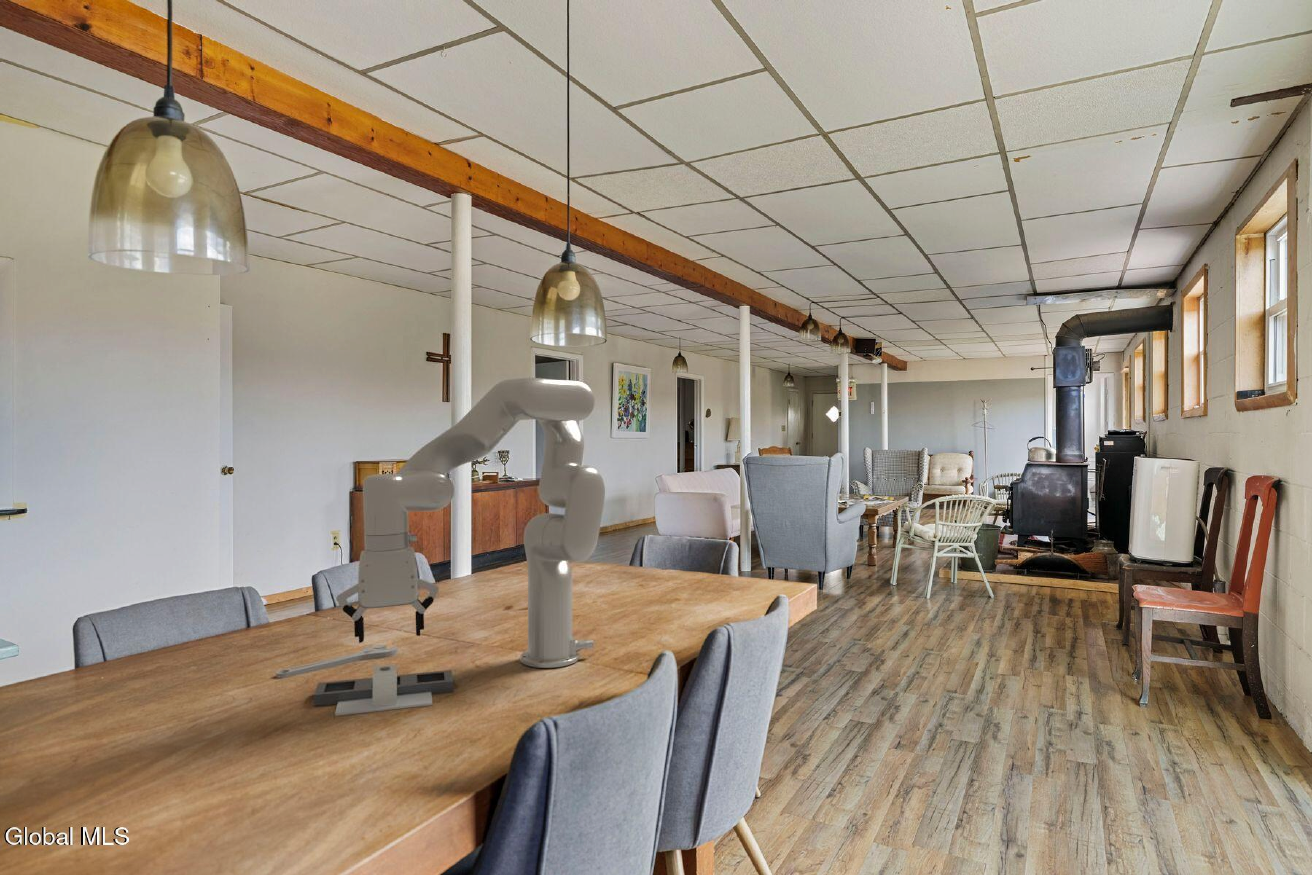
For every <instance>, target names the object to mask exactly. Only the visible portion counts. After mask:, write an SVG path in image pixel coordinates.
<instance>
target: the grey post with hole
mask: <svg viewBox="0 0 1312 875" xmlns="http://www.w3.org/2000/svg"><path fill="white" fill-rule="evenodd" d="M397 675H398V664H387V665H377V666H373V668H372V678H373V701H372V707H382V706H391V705H397Z"/></svg>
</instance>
